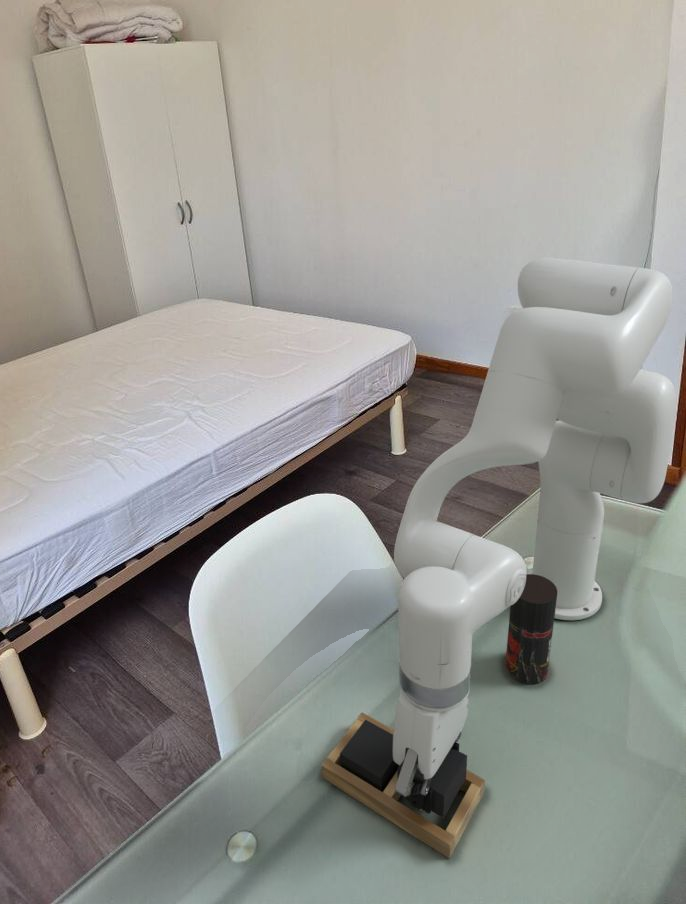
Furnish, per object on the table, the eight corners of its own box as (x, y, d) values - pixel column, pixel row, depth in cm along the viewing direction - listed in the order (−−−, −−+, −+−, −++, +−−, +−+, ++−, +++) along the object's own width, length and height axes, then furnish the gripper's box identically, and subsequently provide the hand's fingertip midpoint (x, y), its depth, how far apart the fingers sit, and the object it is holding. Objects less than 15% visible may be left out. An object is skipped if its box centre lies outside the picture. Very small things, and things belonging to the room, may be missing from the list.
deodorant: (549, 686, 97) (560, 605, 91) (506, 682, 98) (513, 601, 92) (545, 655, 102) (554, 576, 96) (504, 650, 104) (510, 572, 97)
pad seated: (366, 740, 91) (365, 719, 90) (405, 762, 88) (405, 741, 86) (341, 774, 87) (339, 753, 85) (381, 799, 84) (381, 778, 82)
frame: (362, 724, 94) (361, 712, 92) (484, 793, 84) (485, 779, 83) (322, 778, 87) (321, 764, 86) (449, 859, 77) (450, 845, 76)
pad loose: (421, 753, 86) (421, 731, 84) (466, 777, 82) (467, 755, 80) (397, 790, 81) (397, 768, 80) (443, 818, 78) (444, 796, 76)
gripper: (439, 611, 82) (437, 716, 90) (361, 714, 70) (367, 824, 78) (499, 636, 78) (491, 744, 86) (427, 750, 65) (426, 863, 73)
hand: (432, 781), depth 82 cm, fingers closed on pad loose, 6 cm apart
